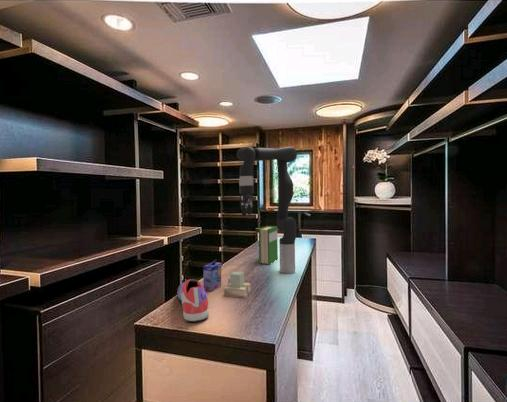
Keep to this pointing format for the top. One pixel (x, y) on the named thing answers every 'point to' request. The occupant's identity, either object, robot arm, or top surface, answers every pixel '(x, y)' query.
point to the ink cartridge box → (212, 276)
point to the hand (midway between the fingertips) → (246, 215)
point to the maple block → (237, 290)
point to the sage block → (237, 279)
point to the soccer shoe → (193, 301)
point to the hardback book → (268, 245)
